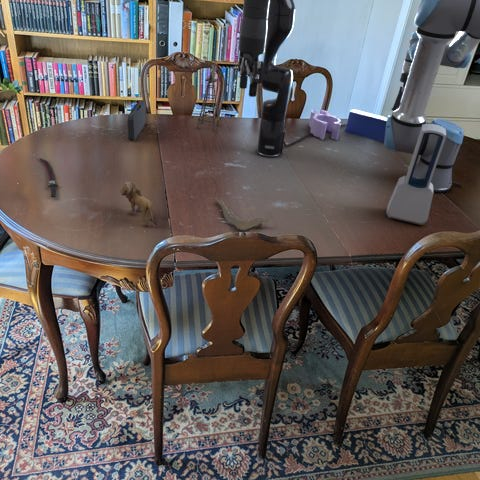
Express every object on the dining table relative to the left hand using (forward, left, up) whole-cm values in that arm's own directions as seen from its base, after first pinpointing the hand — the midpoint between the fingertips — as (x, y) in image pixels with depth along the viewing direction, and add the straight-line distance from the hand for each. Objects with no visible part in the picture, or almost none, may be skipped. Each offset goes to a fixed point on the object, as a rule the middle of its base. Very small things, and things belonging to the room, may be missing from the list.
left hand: (247, 92), depth 141 cm
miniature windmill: (-20, -55, -32) cm, 66 cm away
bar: (-86, -18, -32) cm, 94 cm away
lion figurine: (+38, +4, -32) cm, 50 cm away
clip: (-67, -32, -32) cm, 81 cm away
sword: (+54, -31, -32) cm, 70 cm away
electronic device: (-38, +40, -32) cm, 64 cm away
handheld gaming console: (+11, -60, -32) cm, 68 cm away
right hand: (-89, -9, -23) cm, 93 cm away
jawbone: (+10, +16, -32) cm, 37 cm away
